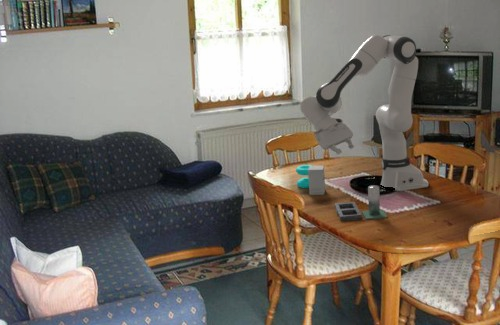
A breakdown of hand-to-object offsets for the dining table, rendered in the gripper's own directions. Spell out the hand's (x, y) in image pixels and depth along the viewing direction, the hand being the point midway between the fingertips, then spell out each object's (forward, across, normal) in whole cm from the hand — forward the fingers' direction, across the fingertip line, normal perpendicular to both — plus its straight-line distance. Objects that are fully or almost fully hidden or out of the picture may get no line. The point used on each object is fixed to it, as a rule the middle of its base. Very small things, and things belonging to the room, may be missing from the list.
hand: (346, 150), depth 261 cm
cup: (+29, -5, +7) cm, 30 cm away
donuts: (-7, +14, +43) cm, 46 cm away
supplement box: (+1, +8, +36) cm, 36 cm away
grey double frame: (+21, -9, +15) cm, 27 cm away
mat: (+29, -5, +7) cm, 31 cm away
